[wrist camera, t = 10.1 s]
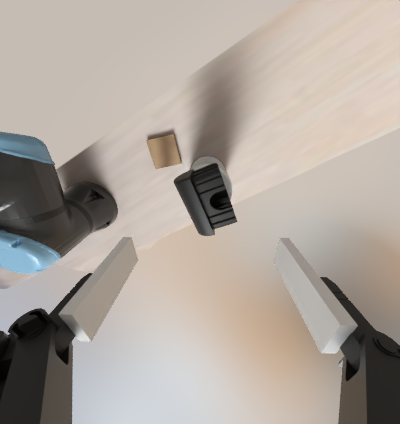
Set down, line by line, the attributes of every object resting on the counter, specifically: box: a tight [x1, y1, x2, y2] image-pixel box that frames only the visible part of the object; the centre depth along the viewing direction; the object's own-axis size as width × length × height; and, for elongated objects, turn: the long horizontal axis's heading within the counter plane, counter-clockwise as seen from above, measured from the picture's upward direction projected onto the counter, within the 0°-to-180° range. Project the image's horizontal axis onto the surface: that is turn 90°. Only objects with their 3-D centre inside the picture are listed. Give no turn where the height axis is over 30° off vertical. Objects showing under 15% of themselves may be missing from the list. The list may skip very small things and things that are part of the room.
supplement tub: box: [189, 156, 232, 199], centre depth 34 cm, size 10×10×15 cm
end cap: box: [174, 163, 237, 236], centre depth 25 cm, size 10×7×7 cm
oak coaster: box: [147, 134, 181, 169], centre depth 38 cm, size 7×7×1 cm
